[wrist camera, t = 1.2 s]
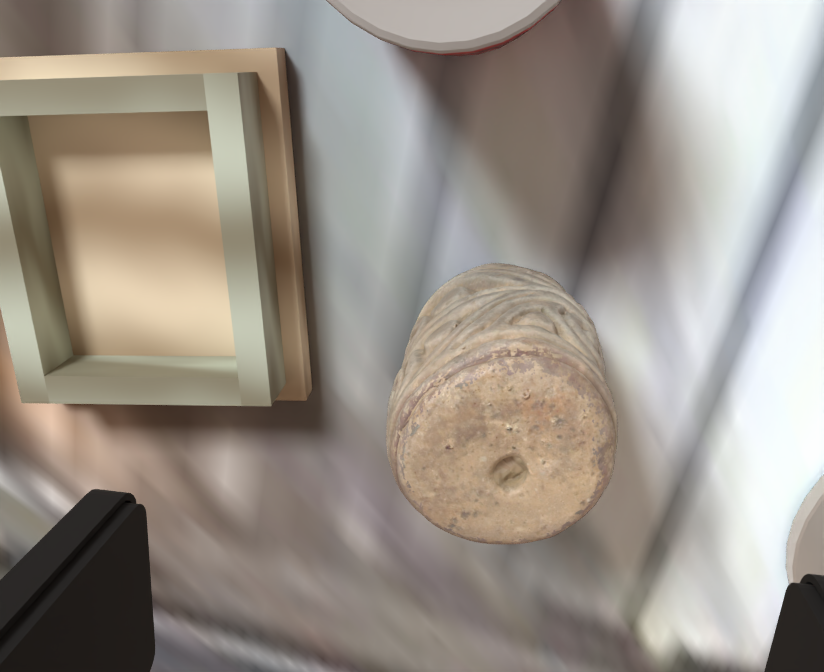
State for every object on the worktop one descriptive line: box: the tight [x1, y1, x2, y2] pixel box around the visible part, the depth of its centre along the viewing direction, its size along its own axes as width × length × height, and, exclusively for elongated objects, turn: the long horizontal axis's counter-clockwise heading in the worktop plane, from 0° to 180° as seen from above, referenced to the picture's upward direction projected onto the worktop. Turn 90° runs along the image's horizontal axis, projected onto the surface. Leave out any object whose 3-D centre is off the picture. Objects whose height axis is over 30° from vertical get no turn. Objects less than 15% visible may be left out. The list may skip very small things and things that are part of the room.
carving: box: [386, 263, 618, 544], centre depth 26 cm, size 6×8×12 cm
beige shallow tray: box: [0, 48, 312, 406], centre depth 30 cm, size 14×12×4 cm
